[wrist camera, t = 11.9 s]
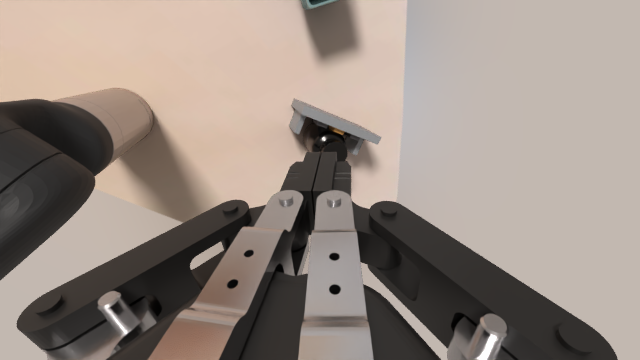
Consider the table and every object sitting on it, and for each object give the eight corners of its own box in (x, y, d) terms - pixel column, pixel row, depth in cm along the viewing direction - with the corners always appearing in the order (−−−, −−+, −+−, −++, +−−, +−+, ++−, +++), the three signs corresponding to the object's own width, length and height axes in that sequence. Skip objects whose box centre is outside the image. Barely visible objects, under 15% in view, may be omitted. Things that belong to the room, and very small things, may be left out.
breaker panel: (350, 148, 61) (368, 163, 52) (284, 124, 55) (292, 136, 46) (360, 126, 60) (381, 137, 51) (294, 98, 54) (304, 105, 45)
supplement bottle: (296, 132, 56) (309, 149, 46) (323, 114, 56) (342, 127, 46) (312, 158, 60) (328, 179, 49) (338, 140, 60) (359, 158, 49)
